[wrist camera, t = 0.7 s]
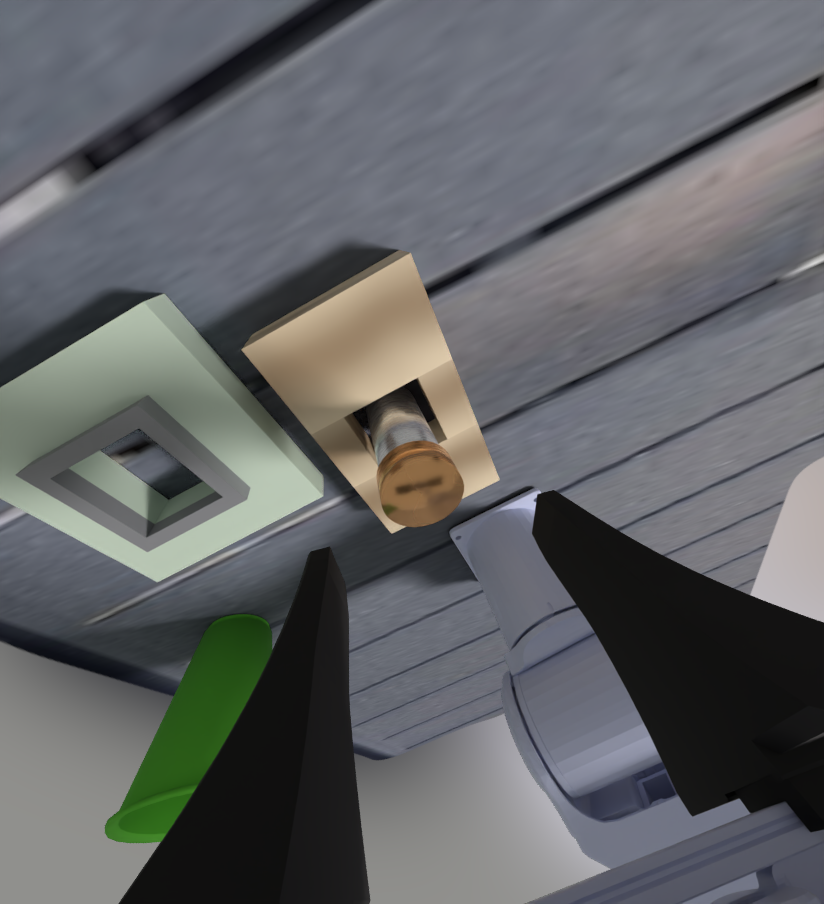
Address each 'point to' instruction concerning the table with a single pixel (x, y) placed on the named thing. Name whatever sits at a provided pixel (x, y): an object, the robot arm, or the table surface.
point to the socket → (165, 421)
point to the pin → (411, 463)
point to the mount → (370, 372)
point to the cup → (194, 726)
